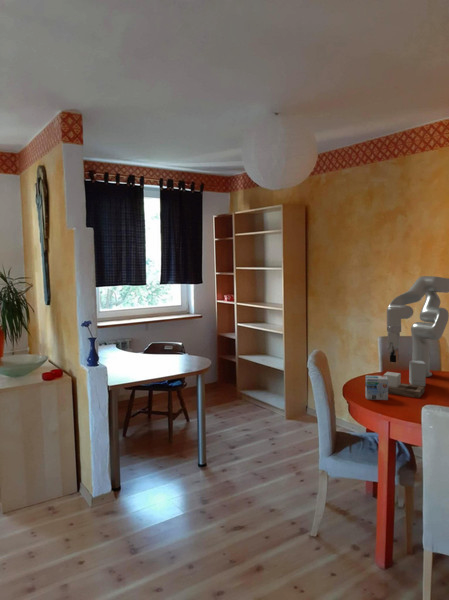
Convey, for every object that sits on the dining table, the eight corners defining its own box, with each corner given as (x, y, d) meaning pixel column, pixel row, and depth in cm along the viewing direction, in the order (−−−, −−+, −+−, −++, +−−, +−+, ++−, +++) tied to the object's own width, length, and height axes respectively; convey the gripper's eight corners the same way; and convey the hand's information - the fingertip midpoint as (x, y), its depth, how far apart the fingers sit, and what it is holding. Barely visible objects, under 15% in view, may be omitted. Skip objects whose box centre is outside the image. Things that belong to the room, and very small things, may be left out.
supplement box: (425, 386, 251) (426, 363, 250) (411, 385, 253) (411, 363, 251) (422, 382, 258) (423, 360, 257) (408, 382, 260) (409, 360, 258)
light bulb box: (366, 399, 231) (366, 378, 230) (364, 395, 238) (364, 375, 237) (388, 400, 229) (389, 379, 228) (386, 396, 236) (386, 375, 235)
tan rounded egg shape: (391, 361, 261) (391, 349, 260) (398, 362, 259) (398, 350, 258) (389, 363, 258) (389, 351, 257) (396, 363, 256) (396, 351, 255)
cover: (387, 382, 249) (387, 371, 249) (400, 384, 245) (400, 373, 245) (383, 385, 244) (383, 374, 243) (397, 387, 240) (397, 376, 239)
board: (385, 386, 253) (385, 381, 252) (424, 392, 241) (424, 386, 241) (378, 391, 243) (379, 386, 243) (419, 398, 231) (419, 392, 231)
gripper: (391, 325, 265) (391, 356, 267) (382, 331, 251) (383, 363, 254) (404, 326, 261) (405, 358, 263) (396, 332, 247) (397, 365, 249)
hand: (394, 360), depth 258 cm, fingers closed on tan rounded egg shape, 4 cm apart
